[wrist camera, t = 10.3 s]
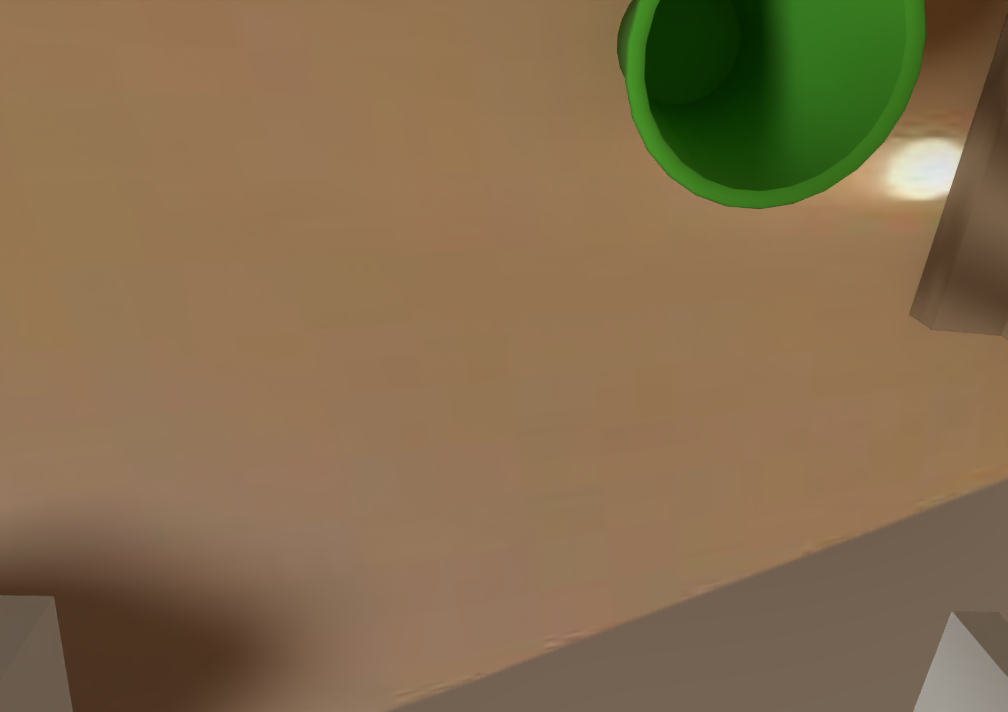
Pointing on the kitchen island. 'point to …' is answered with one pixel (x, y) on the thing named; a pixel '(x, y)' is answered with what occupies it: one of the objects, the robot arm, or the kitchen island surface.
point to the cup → (767, 90)
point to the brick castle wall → (974, 224)
